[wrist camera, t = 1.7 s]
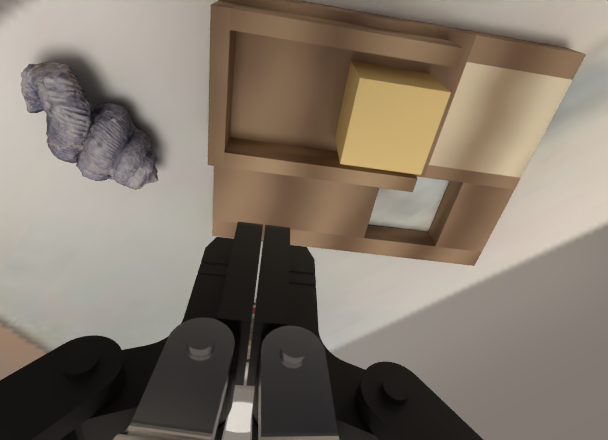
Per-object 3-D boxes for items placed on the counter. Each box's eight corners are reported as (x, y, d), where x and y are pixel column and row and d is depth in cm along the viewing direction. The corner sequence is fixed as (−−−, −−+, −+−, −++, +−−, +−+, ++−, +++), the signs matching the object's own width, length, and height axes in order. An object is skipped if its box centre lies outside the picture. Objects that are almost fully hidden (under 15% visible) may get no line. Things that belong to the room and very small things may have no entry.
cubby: (449, 40, 23) (464, 48, 21) (404, 174, 28) (412, 191, 26) (219, 0, 22) (210, 5, 20) (214, 148, 27) (207, 164, 25)
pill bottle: (228, 298, 38) (209, 393, 29) (285, 306, 38) (282, 402, 30) (221, 336, 41) (202, 432, 32) (275, 343, 41) (269, 439, 33)
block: (430, 73, 24) (451, 92, 21) (405, 148, 27) (420, 175, 23) (351, 60, 24) (359, 77, 20) (334, 137, 26) (340, 163, 23)
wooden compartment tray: (566, 48, 25) (585, 54, 24) (465, 250, 35) (474, 265, 33) (224, -13, 23) (219, -11, 21) (216, 221, 32) (212, 235, 31)
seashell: (44, 68, 27) (169, 159, 31) (-13, 125, 25) (129, 214, 29) (47, 29, 22) (191, 140, 27) (-22, 93, 20) (147, 203, 25)
